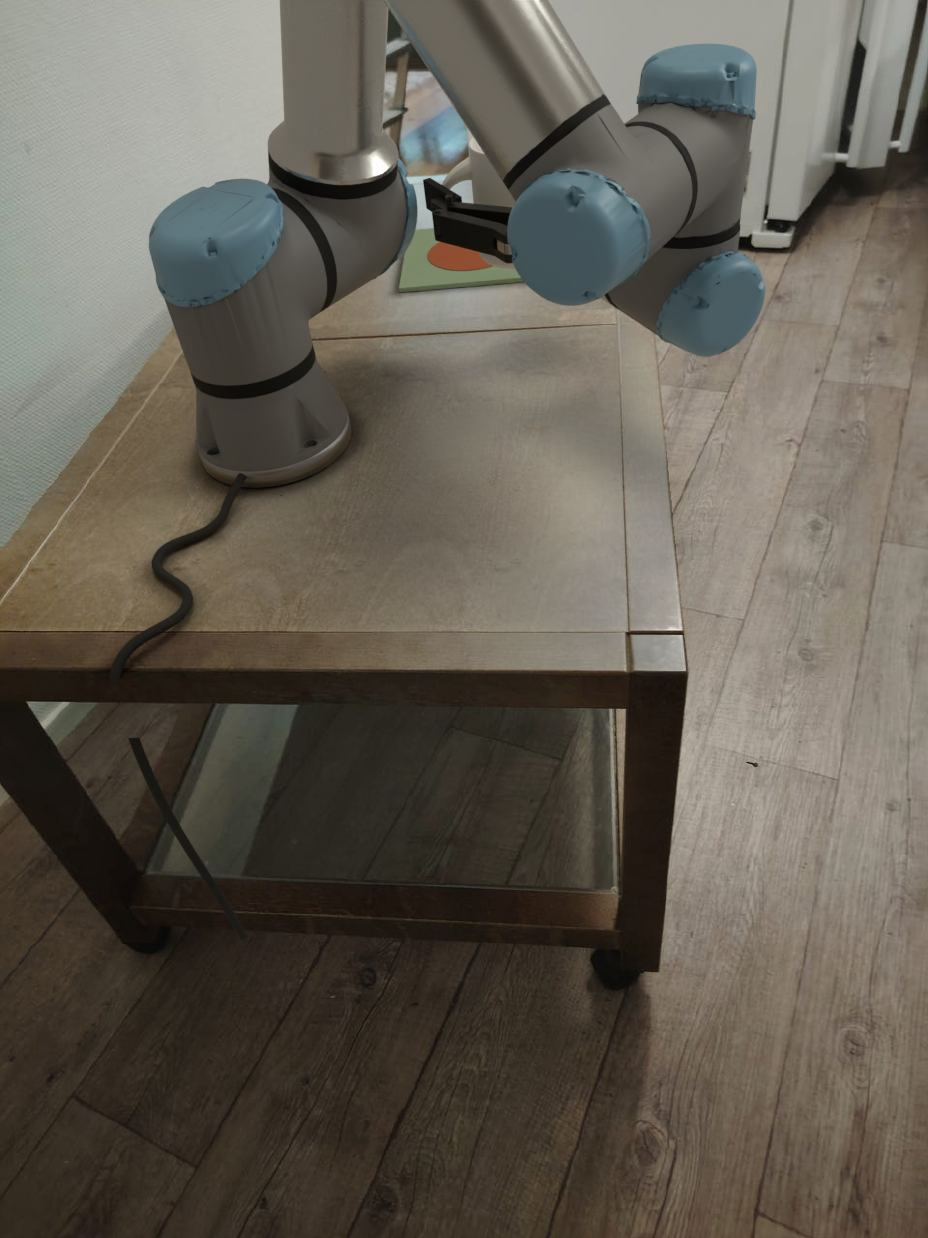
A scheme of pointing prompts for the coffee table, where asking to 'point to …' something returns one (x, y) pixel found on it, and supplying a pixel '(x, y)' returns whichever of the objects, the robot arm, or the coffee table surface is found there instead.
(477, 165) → the mug
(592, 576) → the coffee table surface
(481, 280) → the placemat
